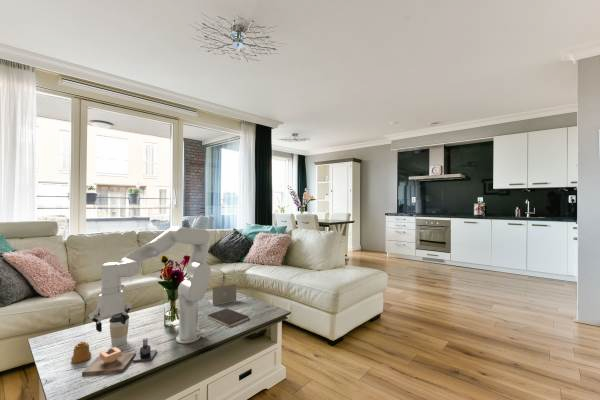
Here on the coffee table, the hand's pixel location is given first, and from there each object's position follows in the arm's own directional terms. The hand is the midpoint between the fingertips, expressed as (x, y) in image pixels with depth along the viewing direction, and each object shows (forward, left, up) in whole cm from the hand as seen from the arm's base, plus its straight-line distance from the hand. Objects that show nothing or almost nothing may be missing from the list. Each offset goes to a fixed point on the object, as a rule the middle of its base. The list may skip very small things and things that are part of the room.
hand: (111, 327), depth 131 cm
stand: (-13, -5, -17) cm, 22 cm away
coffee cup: (+6, -22, -17) cm, 29 cm away
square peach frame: (0, 0, -14) cm, 14 cm away
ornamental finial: (+16, -7, -17) cm, 25 cm away
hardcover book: (-47, -47, -18) cm, 69 cm away
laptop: (-39, -81, -18) cm, 92 cm away
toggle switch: (0, 0, -17) cm, 17 cm away
